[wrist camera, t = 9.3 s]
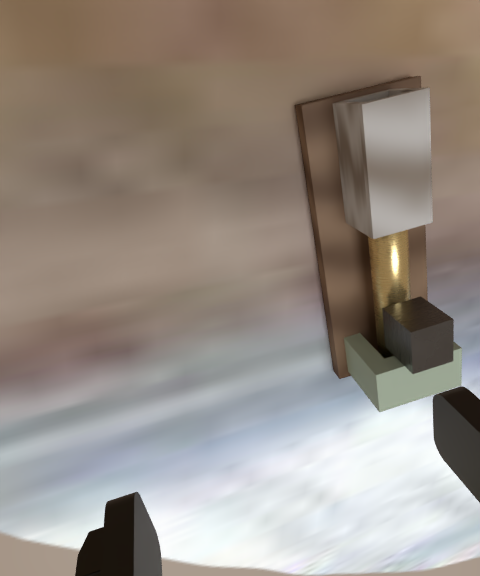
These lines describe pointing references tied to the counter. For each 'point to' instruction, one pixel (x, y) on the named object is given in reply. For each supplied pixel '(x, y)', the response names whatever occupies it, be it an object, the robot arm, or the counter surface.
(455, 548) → the counter surface
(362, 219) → the stand
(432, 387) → the socket block
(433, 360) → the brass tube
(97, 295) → the counter surface
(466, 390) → the robot arm
